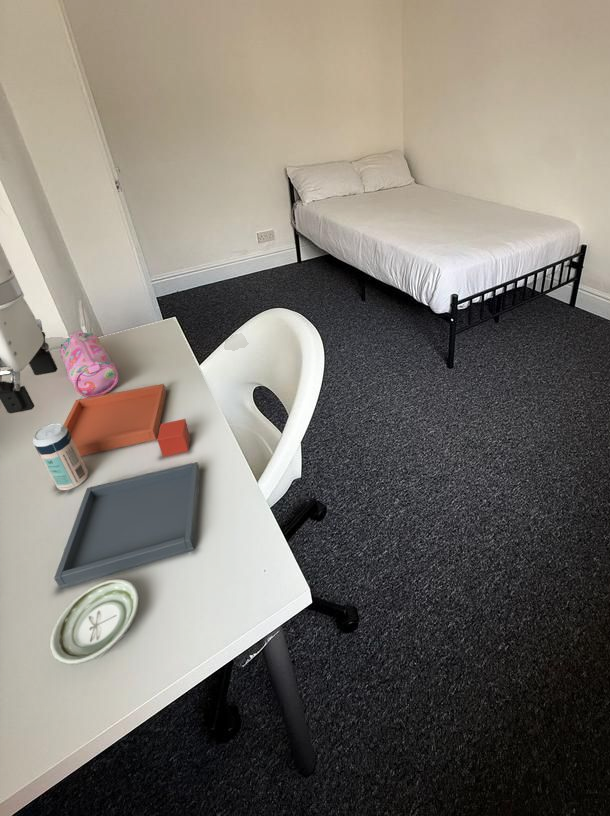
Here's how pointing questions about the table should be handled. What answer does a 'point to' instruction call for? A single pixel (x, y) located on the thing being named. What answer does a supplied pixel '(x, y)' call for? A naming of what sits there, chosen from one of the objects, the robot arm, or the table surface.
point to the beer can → (60, 456)
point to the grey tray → (131, 524)
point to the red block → (173, 437)
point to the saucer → (94, 622)
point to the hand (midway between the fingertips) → (35, 390)
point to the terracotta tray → (116, 419)
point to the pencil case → (88, 365)
